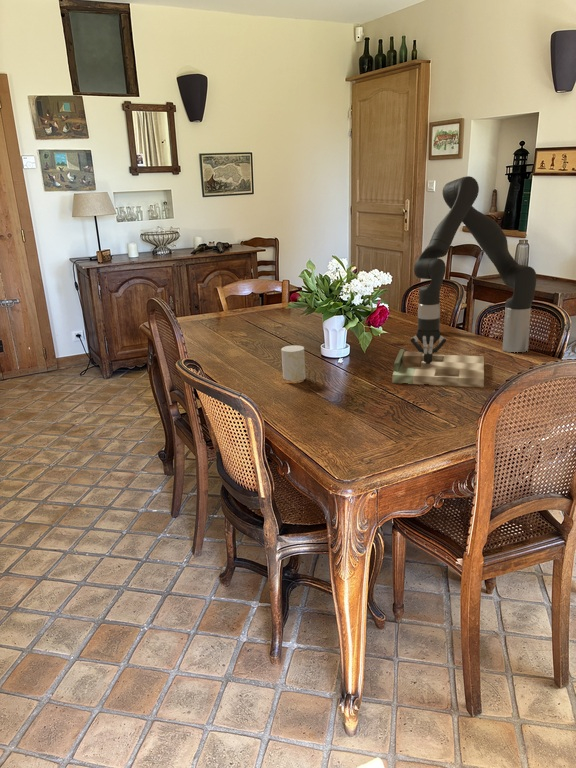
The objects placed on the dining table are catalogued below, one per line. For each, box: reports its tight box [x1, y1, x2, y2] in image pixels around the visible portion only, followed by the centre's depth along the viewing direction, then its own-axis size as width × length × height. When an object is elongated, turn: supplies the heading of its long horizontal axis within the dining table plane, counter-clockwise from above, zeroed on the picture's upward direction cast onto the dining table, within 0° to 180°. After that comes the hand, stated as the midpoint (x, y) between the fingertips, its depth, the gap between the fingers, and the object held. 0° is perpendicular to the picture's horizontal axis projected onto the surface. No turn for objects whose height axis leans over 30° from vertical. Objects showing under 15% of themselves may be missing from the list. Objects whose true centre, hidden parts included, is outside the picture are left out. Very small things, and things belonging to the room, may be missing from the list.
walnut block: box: [403, 350, 423, 367], centre depth 209 cm, size 6×6×4 cm
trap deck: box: [391, 348, 485, 388], centre depth 207 cm, size 30×26×6 cm
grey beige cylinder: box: [280, 344, 307, 381], centre depth 208 cm, size 8×8×12 cm
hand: (428, 363), depth 208 cm, fingers closed
